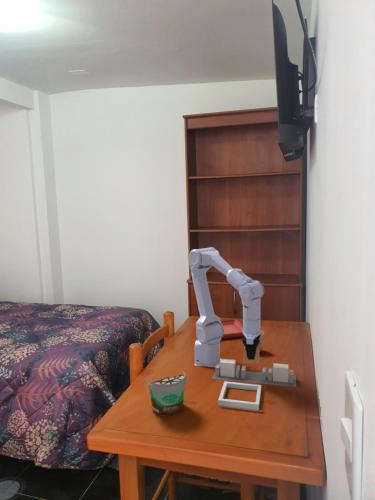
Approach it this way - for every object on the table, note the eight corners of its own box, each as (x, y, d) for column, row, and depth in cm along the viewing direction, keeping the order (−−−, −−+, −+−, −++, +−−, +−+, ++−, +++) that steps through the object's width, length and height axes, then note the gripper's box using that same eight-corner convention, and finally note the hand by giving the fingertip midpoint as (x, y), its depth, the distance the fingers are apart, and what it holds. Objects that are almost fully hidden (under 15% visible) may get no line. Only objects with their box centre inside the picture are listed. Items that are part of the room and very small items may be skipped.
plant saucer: (250, 337, 171) (250, 330, 171) (212, 342, 166) (212, 334, 166) (235, 325, 188) (235, 318, 188) (200, 328, 184) (200, 322, 183)
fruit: (262, 348, 157) (262, 330, 156) (264, 356, 149) (264, 337, 148) (242, 348, 158) (242, 330, 157) (243, 356, 150) (243, 336, 149)
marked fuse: (243, 362, 126) (243, 347, 126) (244, 358, 129) (244, 344, 128) (258, 363, 125) (258, 349, 124) (259, 359, 128) (259, 345, 127)
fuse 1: (220, 375, 132) (220, 362, 132) (221, 372, 135) (221, 358, 134) (234, 377, 131) (234, 363, 130) (235, 373, 134) (235, 360, 133)
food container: (156, 423, 106) (155, 389, 105) (147, 412, 111) (146, 380, 110) (194, 411, 111) (194, 379, 110) (185, 401, 117) (184, 370, 116)
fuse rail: (211, 380, 130) (211, 370, 130) (215, 369, 138) (215, 360, 138) (296, 388, 124) (296, 378, 123) (295, 377, 131) (295, 367, 131)
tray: (218, 406, 114) (218, 399, 114) (224, 387, 125) (224, 381, 125) (258, 411, 111) (258, 404, 111) (261, 391, 122) (261, 385, 122)
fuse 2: (272, 381, 128) (273, 367, 127) (273, 377, 131) (273, 363, 130) (288, 382, 126) (288, 368, 126) (288, 378, 129) (288, 364, 129)
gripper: (262, 325, 117) (262, 367, 119) (264, 312, 131) (264, 349, 133) (240, 324, 119) (240, 365, 121) (244, 311, 133) (244, 348, 135)
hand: (251, 357), depth 127 cm, fingers closed on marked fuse, 3 cm apart
